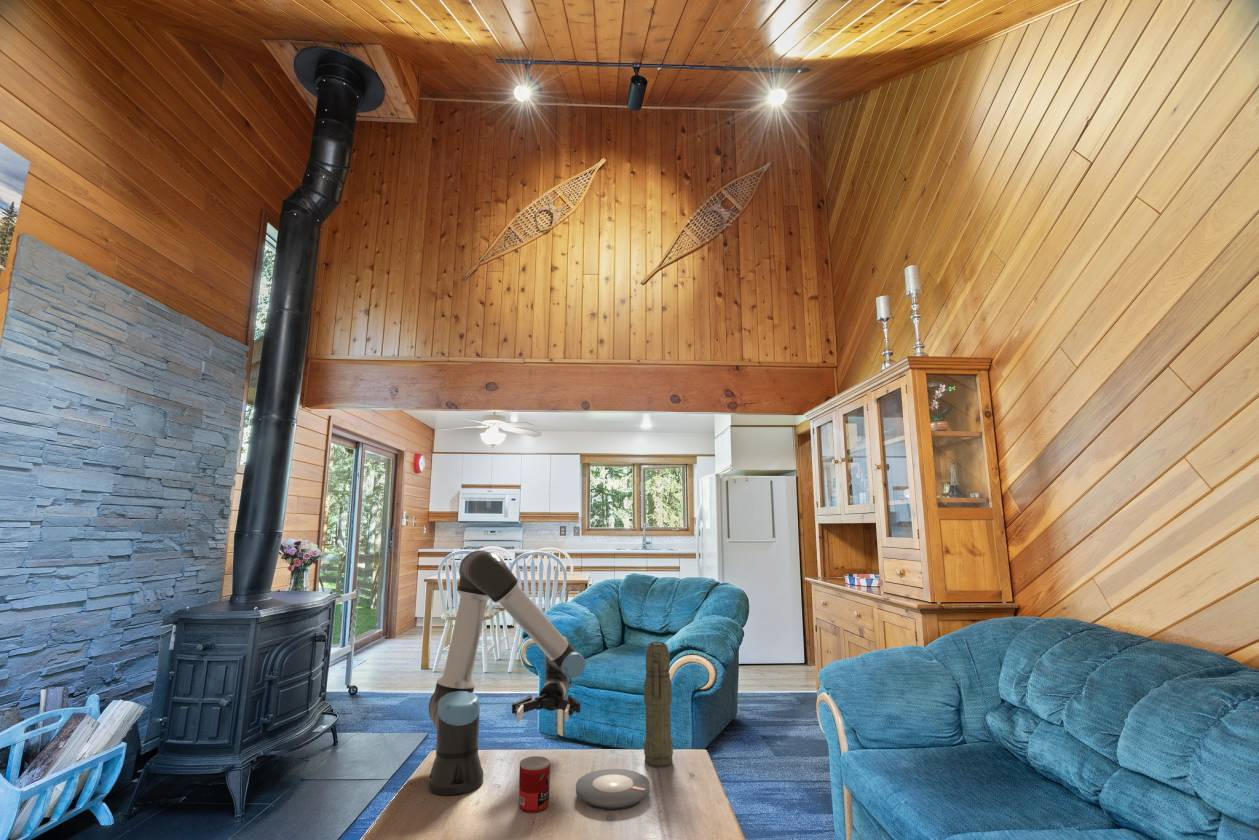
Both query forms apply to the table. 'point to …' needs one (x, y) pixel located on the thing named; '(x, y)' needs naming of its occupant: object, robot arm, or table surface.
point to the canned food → (534, 784)
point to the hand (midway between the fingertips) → (541, 716)
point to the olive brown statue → (658, 706)
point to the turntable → (612, 787)
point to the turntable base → (612, 807)
